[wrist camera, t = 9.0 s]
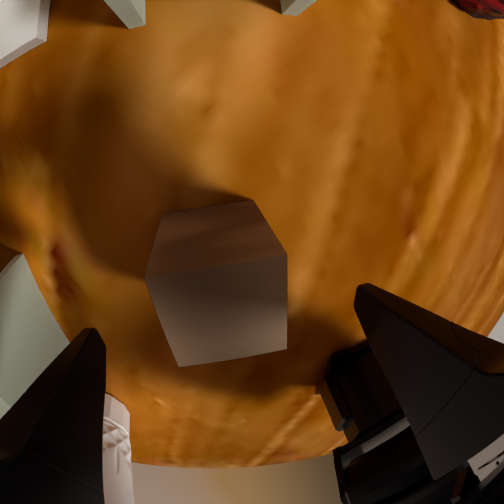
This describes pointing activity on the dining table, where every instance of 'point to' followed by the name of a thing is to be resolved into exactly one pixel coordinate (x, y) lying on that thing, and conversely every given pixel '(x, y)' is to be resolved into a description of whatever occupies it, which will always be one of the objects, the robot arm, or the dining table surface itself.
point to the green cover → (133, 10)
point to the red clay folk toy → (483, 8)
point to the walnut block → (219, 283)
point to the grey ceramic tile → (22, 27)
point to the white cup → (116, 453)
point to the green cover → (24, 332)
